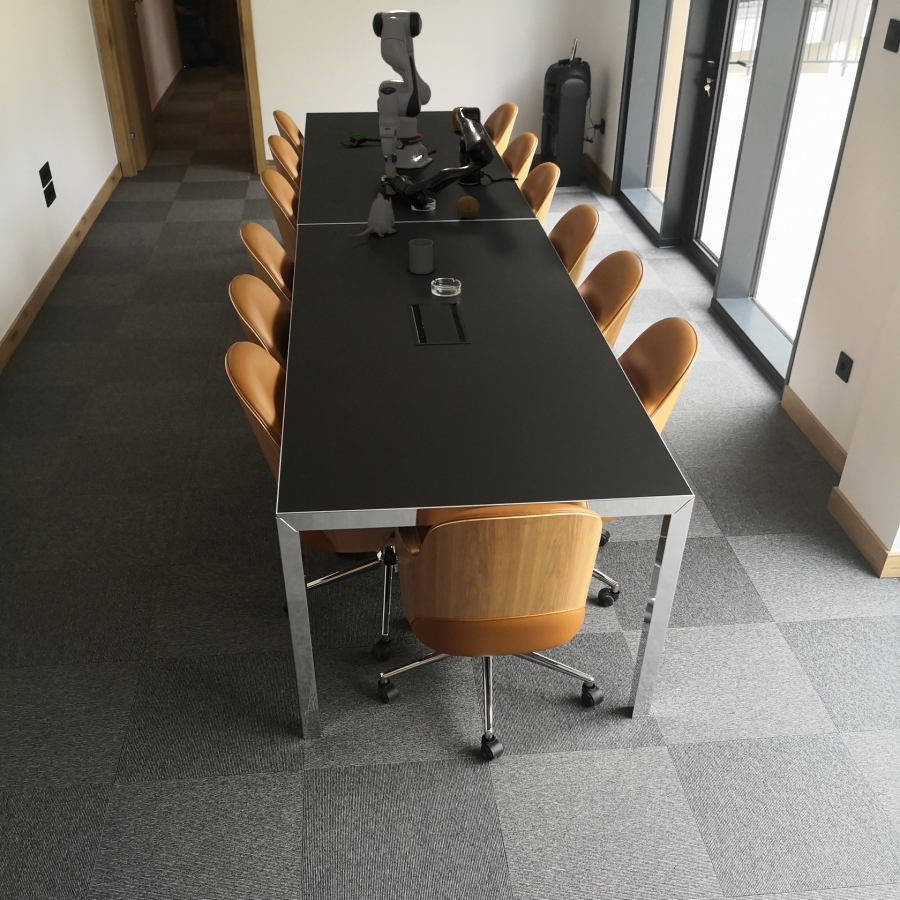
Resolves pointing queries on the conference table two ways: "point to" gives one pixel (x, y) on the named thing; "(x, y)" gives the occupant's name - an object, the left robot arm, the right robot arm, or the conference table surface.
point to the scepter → (358, 139)
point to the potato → (467, 207)
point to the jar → (390, 175)
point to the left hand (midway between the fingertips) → (390, 161)
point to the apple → (455, 118)
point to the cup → (421, 256)
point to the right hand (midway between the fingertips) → (388, 176)
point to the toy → (380, 217)
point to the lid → (394, 158)
